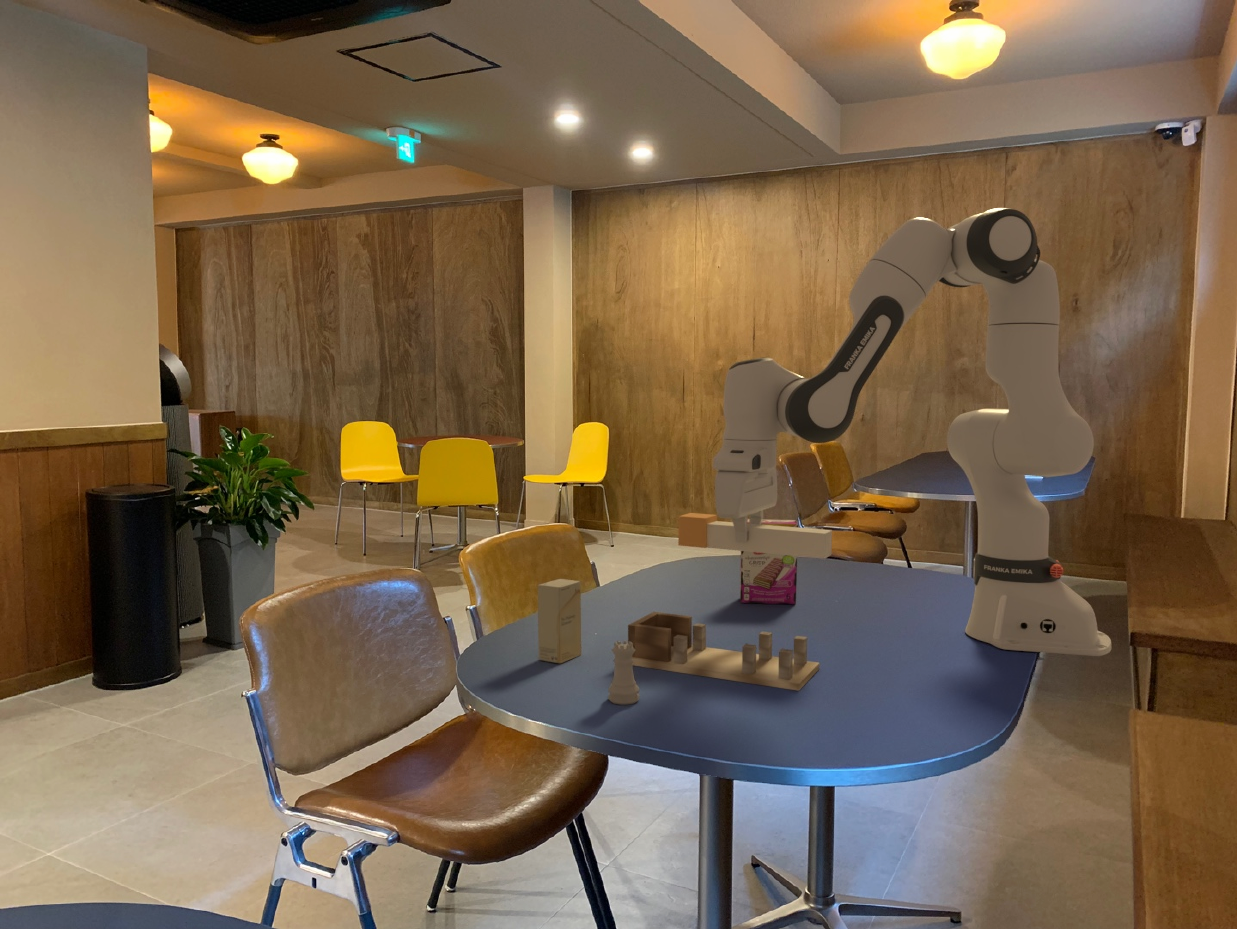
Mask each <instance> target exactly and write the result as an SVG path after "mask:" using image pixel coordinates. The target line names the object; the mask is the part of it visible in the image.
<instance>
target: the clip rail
mask: <svg viewBox="0 0 1237 929" xmlns="http://www.w3.org/2000/svg"><path fill="white" fill-rule="evenodd" d="M692 618H693V616H692V615H683V614H675V613H668V612H667V613H666V612H665V613H664V612H659V611H651V613H648V614H646V615H644V616H643V617H641V618H639V619H637V620H635V621H633V622H631V623H630V624H628V625H627V643H628V642H632V643H633V647H634V649H635V652H634V653H633V655H632V659H633V660H634V662H633V663H632V665H633V666H636V667H642V668H648V669H655V670H662V671H667V672H668V671H669V672H673V673H681V674H686V675H694V676H701V677H707V678H714V679H719V680H720V679H721V680H726V681H727V680H728V681H734V682H738V683H746V684H753V685H757V686H758V685H760V686H765V687H766V686H767V687H770V688H771V687H772V688H777V689H778V688H779V689H785V690H793V691H797V692H800V690H801V689H802V688H803V687H804V686H805V685H806V684H807V683H808V682H809V681H810V679H812V678H813V676H814V675H815V674H817V672H819V670H820V662H816V661H810V660H808V636H802V635H801V636H800V635H796V636H794V638H793V649H785V648H782V649H780V650H779V651H778V656H775V655H773V632H769V631H761V632H760V633H759V634H758V653H757V644H749V643H745V644H744V645H743V646H742V649H741V650H742V651H736V650H729V649H723V648H715V647H708V646H706V645H707V643H706V642H707V641H706V640H707V624H705V623H698V622H696V623H695V624H693V622H692V620H693V619H692ZM692 624H693V625H692Z"/></svg>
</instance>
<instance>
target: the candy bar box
mask: <svg viewBox="0 0 1237 929" xmlns="http://www.w3.org/2000/svg"><path fill="white" fill-rule="evenodd" d="M749 520H750V518H748V522H746V523H747V524H749ZM761 525H773V526H785V527H798V528H799V523H798V522H797V520H796V519H762V522H761ZM739 568H740V569H739V570H740V573H739V574H740V575H739V578H740V579H739V580H740V581H739V599H740V603H741V604H742V603H743V604H769V605H770V604H772V605H773V604H776V605H778V604H779V605H797V604H796V603H797V583H798V582H797V580H798V579H797V578H798V577H797V576H798V575H797V574H798V556H790V555H780V554H769V553H759V552H748V551H740V567H739Z"/></svg>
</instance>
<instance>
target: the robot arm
mask: <svg viewBox="0 0 1237 929" xmlns="http://www.w3.org/2000/svg"><path fill="white" fill-rule="evenodd" d="M1037 236H1038V235H1037V233H1036V229H1035V226H1034V224H1033V223H1032V221H1031V220H1030V218H1029V217H1028V216H1027V215H1026V214H1025V213H1023V212H1022V211H1020V210H1018V209H1015V208H1011V207H1010V208H1008V207H997V208H992V209H988V210H986V211H984V212H981V213H978V214H974V215H971V216H968V217H966V218H965V219H963V220H961V221H960V222H959V223H956V224H954V225H952V226H949V227H947V228H945V227H943V226H942V225H941V224H940V223H938V222H936V221H935V220H933V219H930V218H925V217H914V218H911V219H908V220H906V221H905V222H904V223H903V224H901V226H899V227H898V228H897V229H896V230H895V231H894V232H893V233H892V234H891V235H890V236H889V237H888V238H887V239H886V240H885V241H884V242H883V243H882V245H881V246H880V247H879V248H878V249H877V250H876V252H875V253H874V254H873V255H872V257H871V258H870V259H869V261H868V262H867V264H865V266H864V268H863V269H862V270H861V272H860V274H859V275H858V276H857V278H856V281H855V282H854V284H853V286H852V288H851V291H850V292H849V295H848V303H849V308H850V310H851V313H852V315H853V323H852V325H851V329H850V330H849V332H848V334H847V335H846V337H845V338H844V340H843V341H842V342H841V344H840V346H839V347H838V349H837V350H836V352H835V353H834V354H833V356H832V357H831V359H830V361H829V362H828V363H827V365H826V366H825V367H824V369H823V370H821V371H820V372H818V373H817V374H816V375H813V376H812V377H811V378H807V377H804V376H801V375H799V374H797V373H795V372H793V371H790V370H789V369H787V368H785V367H783V365H780V364H779V363H778V362H777V361H775V360H774V358H772V357H767V356H766V357H764V356H763V357H759V358H752V359H751V358H750V359H748V360H747V359H745V360H741V361H737V362H735V363H734V364H732V365H731V366H730V367H729V369H728V370H727V373H726V377H725V383H724V390H723V392H724V393H723V406H722V407H723V409H722V410H723V412H722V413H723V416H724V420H725V426H724V427H725V428H724V431H723V433H722V434H723V435H722V446H721V447H720V450H719V451H718V452H717V453H716V454H715V455H714V456H713V458H712V468H713V470H714V471H717V472H716V474H715V478H714V498H715V502H714V503H715V510H716V515H717V518H720V519H728V520H729V519H730V520H732V522H733V525H734V528H735V531H736V542H740V543H745V542H747V541H748V540H749V531H747V523H746V522H748V519H750V520H749V524H760V525H761V522H762V519H763V518H764V511H765V510H768V509H771V508H773V507H775V506H776V505H777V501H778V478H777V474H778V472H777V453H778V452H777V450H778V448H777V446H778V445H777V444H778V434H780V433H786V434H788V435H790V436H793V437H798V438H801V439H803V440H805V441H807V442H810V443H813V444H826V443H830V442H833V441H835V440H837V439H838V438H840V437H841V436H843V435H844V433H846V432H847V430H848V429H849V427H850V425H851V423H852V421H853V419H854V415H855V411H856V406H857V402H858V399H859V396H860V394H861V391H862V389H863V387H864V386H865V384H866V382H867V381H868V380H869V378H870V377H871V375H872V374H873V372H874V371H875V369H876V367H877V365H878V364H879V363H880V362H881V360H882V358H883V356H884V355H885V353H886V352H887V350H888V349H889V347H890V346H891V344H892V343H893V341H894V340H895V337H896V336H897V335H898V334H899V332H900V331H901V329H902V328H903V327H904V326H905V324H907V323H908V322H909V320H910V318H912V316H913V315H914V314H915V313H916V311H917V310H918V309H919V307H921V305H922V303H923V302H924V301H925V299H926V298H927V296H928V295H929V294H930V293H931V291H932V289H933V288H934V286H935V285H936V284H937V283H938V282H940V283H941V284H943V285H946V286H948V287H949V286H950V287H953V288H967V287H971V286H978V285H981V286H982V288H983V289H984V291H985V294H986V297H987V302H988V307H989V308H988V315H987V327H986V328H987V330H986V343H985V344H986V345H985V346H986V348H985V366H984V367H985V372H986V374H987V376H988V377H989V378H990V380H992V381H993V382H994V383H996V384H997V385H999V386H1000V387H1001V389H1002V391H1003V392H1004V394H1005V397H1006V401H1007V406H1008V407H1007V408H981V409H976V410H972V411H967V412H963V413H961V414H959V415H958V416H956V417H955V418H954V419H953V420H952V422H951V424H950V425H949V428H948V430H947V434H946V445H947V450H948V453H949V454H950V456H951V458H952V459H953V460H954V461H955V462H956V463H957V464H958V466H959V467H960V468H961V470H963V472H964V474H965V475H966V477H967V479H968V482H969V484H970V486H971V488H972V492H973V495H974V498H975V502H976V510H977V551H976V552H975V555H974V558H973V581H974V582H973V584H974V585H975V586H974V595H973V600H972V606H971V611H970V614H969V618H968V622H967V624H966V627H965V630H964V632H965V633H966V635H967V636H969V637H971V638H973V639H976V640H978V641H982V642H984V643H988V644H990V645H992V646H994V647H996V648H997V649H1002V650H1009V651H1020V652H1021V651H1023V652H1033V653H1046V654H1047V653H1050V654H1063V655H1064V654H1065V655H1076V656H1077V655H1078V656H1092V657H1101V656H1105V655H1107V654H1109V653H1110V652H1111V650H1112V640H1111V638H1110V637H1109V635H1107V634H1106V633H1104V632H1102V631H1099V630H1098V623H1097V617H1096V614H1095V611H1094V608H1093V607H1092V605H1091V604H1090V603H1089V602H1088V601H1087V600H1086V599H1084V598H1083V597H1082V596H1081V595H1079V594H1078V593H1077V592H1076V591H1075V590H1073V589H1072V588H1071V587H1069V586H1068V585H1067V584H1065V583H1064V582H1063V581H1061V577H1062V576H1063V574H1064V568H1063V566H1062V563H1060V561H1059V560H1058V559H1054V558H1052V557H1051V556H1049V544H1050V543H1049V539H1050V536H1049V535H1050V514H1049V513H1050V512H1049V511H1048V509H1047V507H1046V505H1044V503H1043V502H1042V501H1041V500H1039V499H1038V498H1037V497H1036V496H1035V495H1033V493H1032V492H1031V489H1030V487H1029V485H1028V482H1027V480H1026V476H1033V477H1041V478H1052V477H1053V478H1054V477H1061V476H1069V475H1075V474H1077V473H1079V472H1081V471H1082V470H1083V469H1084V468H1085V467H1086V466H1087V464H1088V463H1089V461H1090V460H1091V458H1092V455H1093V453H1094V447H1095V438H1094V435H1093V430H1092V429H1091V427H1090V425H1089V423H1088V422H1087V421H1086V420H1085V419H1084V418H1083V417H1082V416H1081V415H1079V414H1078V413H1077V412H1076V411H1075V409H1074V408H1073V407H1072V405H1071V403H1070V402H1069V399H1067V396H1066V394H1065V391H1064V389H1063V386H1062V382H1061V378H1060V373H1059V372H1060V371H1059V342H1060V341H1059V340H1060V339H1059V337H1060V336H1059V335H1060V320H1061V319H1060V318H1061V316H1060V315H1061V314H1060V313H1061V309H1060V308H1061V306H1060V293H1059V284H1058V283H1059V282H1058V279H1057V278H1058V277H1057V272H1056V271H1055V268H1054V267H1053V266H1052V265H1051V264H1049V263H1048V262H1046V261H1044V260H1041V250H1040V247H1039V245H1038V237H1037ZM748 517H749V518H748Z"/></svg>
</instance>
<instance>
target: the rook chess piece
mask: <svg viewBox="0 0 1237 929" xmlns="http://www.w3.org/2000/svg"><path fill="white" fill-rule="evenodd" d="M622 642H623V643H622ZM611 651H612V653H613V654H614V659H613V663H614V671H613V672H614V673H613V678H612V681H611V683H610V686H608V690H607V692H608V693H609V694H608V695H607V698H608V700H609V701H610V703H612V704H614V705H617V706H618V705H619V706H629V705H632V704H636V703H637V702H638V701H639V699H640V697H641V696H640V694H639V692H640V687H639V685H638V684H637V682H636V681H635V677H634V676H635V674H634V671H633V670H634V669H633V666H634V665H632V663H633V662H634V660H633V659H632V655H633V653H634V652H635V649H634V647H633V643H632V642H628V640H623V641H621V640H619V641H618V640H617V641H616V642H614V644H613V648H612V649H611Z"/></svg>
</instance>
